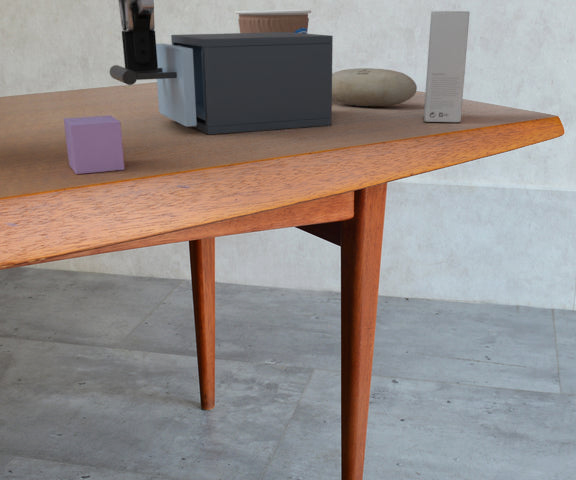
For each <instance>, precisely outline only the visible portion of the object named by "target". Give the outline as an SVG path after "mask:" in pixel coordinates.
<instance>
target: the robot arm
mask: <svg viewBox="0 0 576 480" xmlns="http://www.w3.org/2000/svg"><path fill="white" fill-rule="evenodd" d="M118 7H119V17H120V23H121V25H120V26H121V30H122V31H121V40H122V52H123V60H124V68H127V69H130V70H132V71H149V70H156V69H157V68H158V63H157V50H156V44H157V40H156V39H157V38H156V30H155V28H156V27H155V26H156V25H155V2H154V0H118Z"/></svg>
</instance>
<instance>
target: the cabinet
mask: <svg viewBox="0 0 576 480" xmlns="http://www.w3.org/2000/svg"><path fill="white" fill-rule="evenodd" d="M170 37H171V38H170V39H171V45H175V46H178V45H193V46H199V47H202V58H203V79H204V100H205V120H203V119H201V118H198V117H196V121H197V126H191V127H192V128H194V129H196V130H198V131H200V132H202V133H203V134H206V135H208V136H211V135H222V134H224V135H225V134H235V133H248V132H249V133H250V132H261V131H274V130H286V129H298V128H299V129H301V128H313V127H314V128H315V127H325V126H332V116H333V115H332V114H333V112H332V111H333V108H332V107H333V101H332V100H333V99H332V74H333V40H334V37H333V35H330V34H329V35H327V34H315V33H307V34H305V33H292V32H268V33H240V32H236V33H235V32H234V33H233V32H232V33H231V32H229V33H197V34H196V33H195V34H194V33H192V34H171V35H170Z"/></svg>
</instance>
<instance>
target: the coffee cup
mask: <svg viewBox="0 0 576 480" xmlns="http://www.w3.org/2000/svg"><path fill="white" fill-rule="evenodd" d="M311 13H312V10H311V9H243V10H242V9H240V10H235V14H236V15H238V28H239V33H268V32H292V33H305V34H308V30H309V22H310V18H309V14H311Z"/></svg>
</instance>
